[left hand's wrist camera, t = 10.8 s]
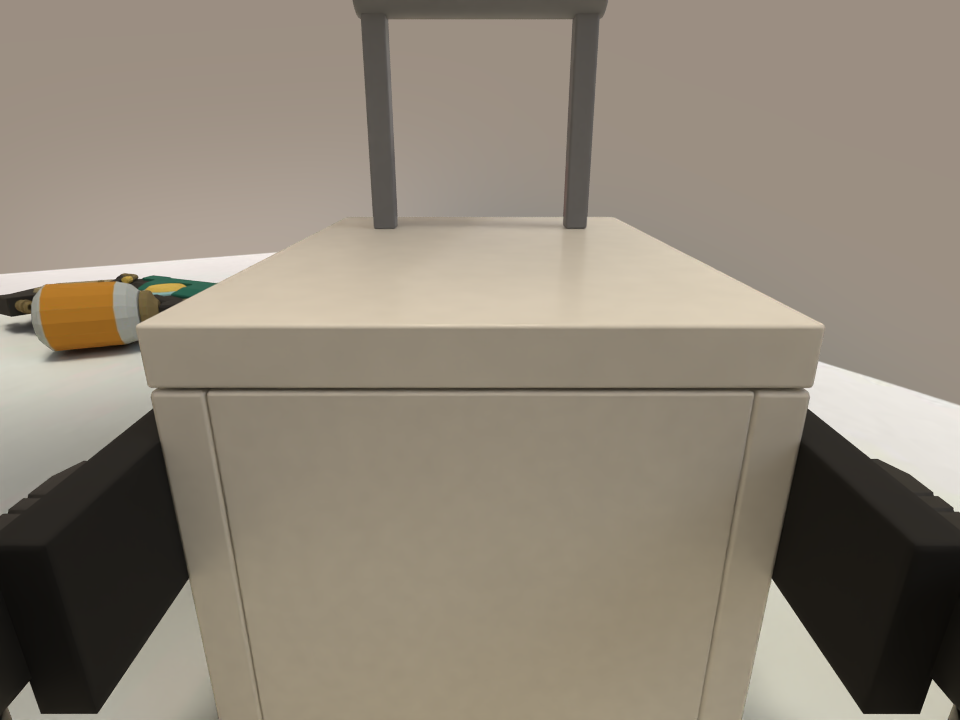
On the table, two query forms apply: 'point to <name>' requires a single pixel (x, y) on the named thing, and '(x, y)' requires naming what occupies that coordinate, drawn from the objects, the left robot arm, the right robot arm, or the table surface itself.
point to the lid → (480, 282)
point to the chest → (480, 547)
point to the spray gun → (97, 308)
